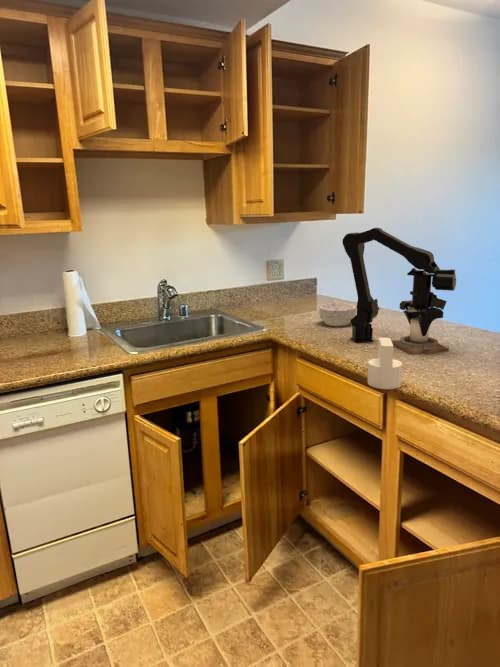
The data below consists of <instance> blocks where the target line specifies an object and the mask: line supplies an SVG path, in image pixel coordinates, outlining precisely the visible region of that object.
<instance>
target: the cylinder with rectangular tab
mask: <svg viewBox="0 0 500 667" xmlns="http://www.w3.org/2000/svg"><path fill="white" fill-rule="evenodd" d="M391 341H392V340H391V338H390V337H378V348H377V349H378V350H377V351H378V352H377V354H378V355H377V357H376V358H372V359H370V360H368V362H367V384H368V385H369V386H370V387H372V388H376V389H380V390H381V389H382V390H394V389H398V388H400V387H401V386H402V374H403V372H402V371H403V362H401V361H400V360H398V359H394V345H393V344H392V342H391Z"/></svg>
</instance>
